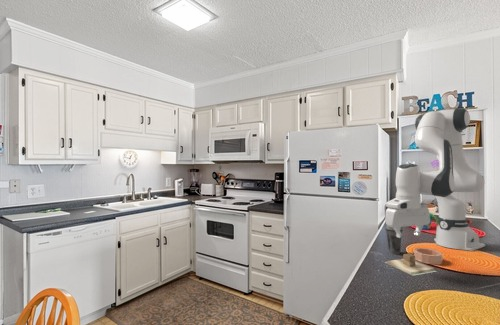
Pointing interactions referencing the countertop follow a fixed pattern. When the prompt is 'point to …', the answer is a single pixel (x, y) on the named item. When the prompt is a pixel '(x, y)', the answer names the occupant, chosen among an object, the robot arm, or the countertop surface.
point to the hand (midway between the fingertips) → (408, 236)
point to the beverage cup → (393, 240)
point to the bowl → (428, 256)
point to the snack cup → (430, 222)
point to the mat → (421, 273)
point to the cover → (409, 265)
